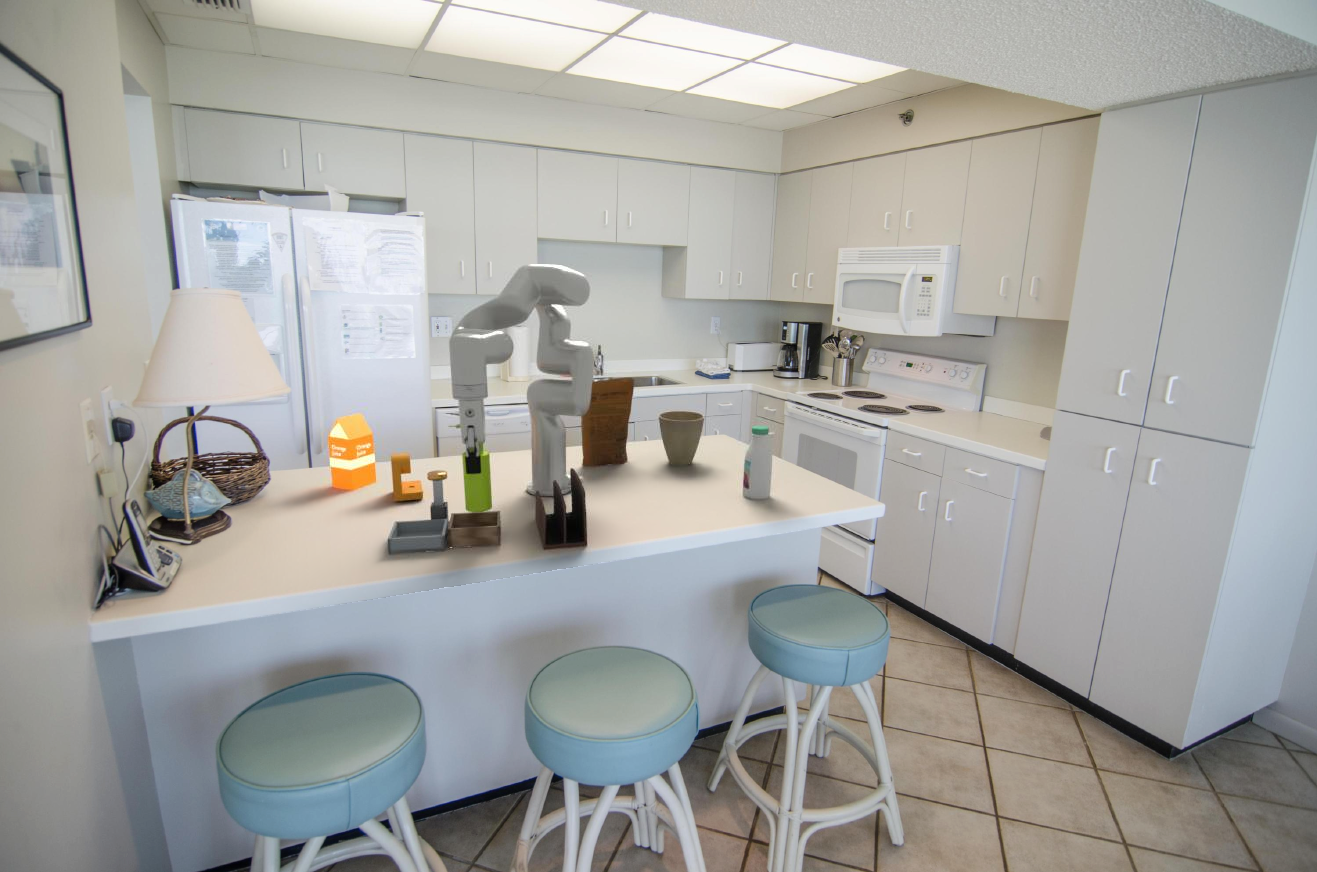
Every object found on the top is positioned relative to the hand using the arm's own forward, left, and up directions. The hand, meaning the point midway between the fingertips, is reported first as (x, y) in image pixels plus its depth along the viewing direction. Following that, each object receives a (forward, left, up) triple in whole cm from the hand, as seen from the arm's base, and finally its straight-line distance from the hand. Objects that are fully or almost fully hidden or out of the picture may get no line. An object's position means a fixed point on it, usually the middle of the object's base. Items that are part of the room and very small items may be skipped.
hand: (474, 468), depth 152 cm
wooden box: (0, +1, -17) cm, 17 cm away
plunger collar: (+9, -7, -17) cm, 20 cm away
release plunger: (+9, -7, -16) cm, 19 cm away
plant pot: (-63, -54, -17) cm, 85 cm away
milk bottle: (-76, -19, -17) cm, 80 cm away
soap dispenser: (0, 0, -10) cm, 10 cm away
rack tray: (+13, +2, -17) cm, 21 cm away
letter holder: (-19, 0, -17) cm, 26 cm away
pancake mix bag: (-39, -56, -17) cm, 71 cm away
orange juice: (+35, -45, -17) cm, 60 cm away
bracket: (+19, -32, -17) cm, 41 cm away
